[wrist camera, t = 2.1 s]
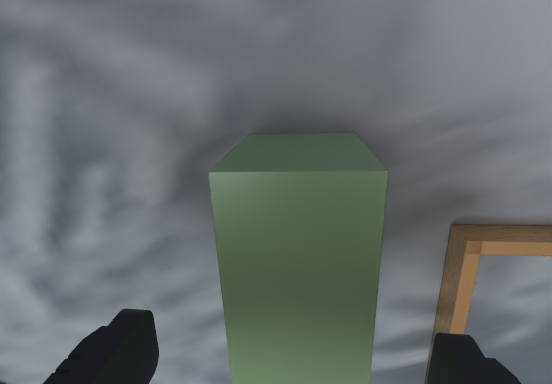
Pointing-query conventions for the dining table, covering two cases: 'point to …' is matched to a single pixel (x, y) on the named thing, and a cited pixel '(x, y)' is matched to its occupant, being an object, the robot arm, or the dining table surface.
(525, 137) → the dining table surface
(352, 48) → the dining table surface
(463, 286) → the grey block with frame
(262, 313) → the sage green upright block
